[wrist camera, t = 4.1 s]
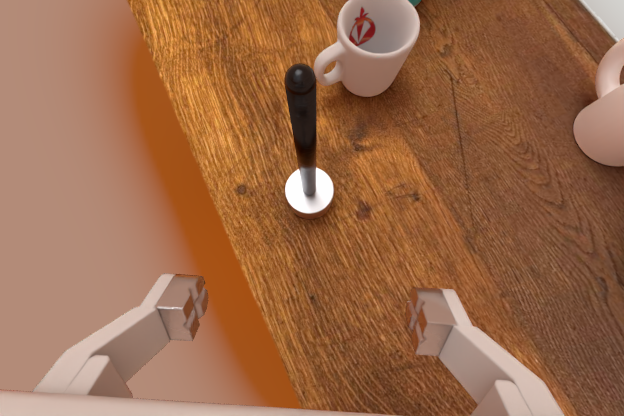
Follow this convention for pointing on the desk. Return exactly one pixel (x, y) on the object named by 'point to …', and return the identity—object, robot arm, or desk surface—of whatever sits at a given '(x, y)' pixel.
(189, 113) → the desk surface
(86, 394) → the robot arm
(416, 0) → the beverage can
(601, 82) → the mug
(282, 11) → the desk surface
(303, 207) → the rod on puck
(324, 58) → the cup
